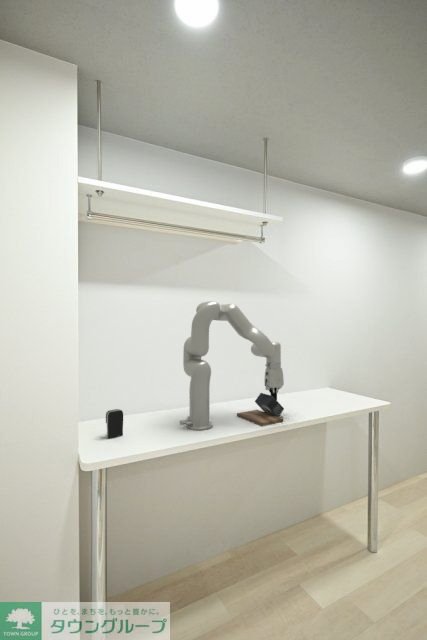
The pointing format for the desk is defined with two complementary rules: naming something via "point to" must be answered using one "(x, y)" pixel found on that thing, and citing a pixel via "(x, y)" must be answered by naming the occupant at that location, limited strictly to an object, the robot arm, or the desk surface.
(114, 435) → the battery charger
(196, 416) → the robot arm
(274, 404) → the small box
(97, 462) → the desk surface
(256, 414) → the board
